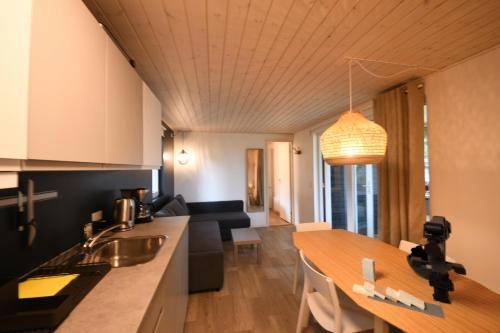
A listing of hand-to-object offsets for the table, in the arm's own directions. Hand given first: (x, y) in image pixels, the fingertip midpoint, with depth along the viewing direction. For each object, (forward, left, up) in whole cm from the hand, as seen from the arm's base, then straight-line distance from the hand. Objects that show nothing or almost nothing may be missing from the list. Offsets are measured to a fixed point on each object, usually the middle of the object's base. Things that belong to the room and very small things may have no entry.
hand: (437, 283), depth 99 cm
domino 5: (0, -5, -12) cm, 13 cm away
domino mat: (0, -13, -13) cm, 19 cm away
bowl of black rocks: (-36, 0, -13) cm, 38 cm away
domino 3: (0, -16, -12) cm, 20 cm away
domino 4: (0, -10, -12) cm, 16 cm away
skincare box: (-16, -29, -13) cm, 36 cm away
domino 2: (0, -21, -12) cm, 24 cm away
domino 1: (0, -26, -12) cm, 28 cm away
